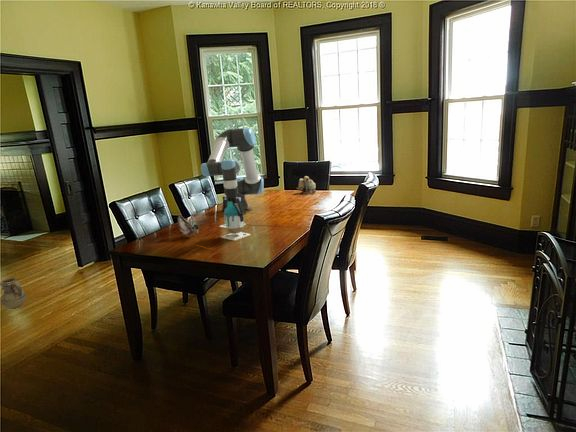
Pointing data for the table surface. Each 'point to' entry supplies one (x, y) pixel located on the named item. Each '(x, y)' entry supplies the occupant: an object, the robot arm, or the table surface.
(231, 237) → the two dot mat
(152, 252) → the table surface
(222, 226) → the three dot mat
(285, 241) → the table surface
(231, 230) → the vase
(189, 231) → the decorative duck model
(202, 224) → the table surface
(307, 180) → the owl figurine
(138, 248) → the table surface
